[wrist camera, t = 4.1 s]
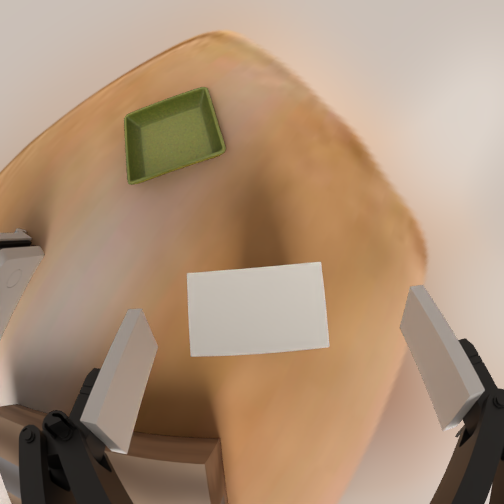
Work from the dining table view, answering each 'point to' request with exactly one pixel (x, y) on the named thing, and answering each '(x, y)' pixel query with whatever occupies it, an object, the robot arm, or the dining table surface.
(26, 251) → the grey curved slotted block
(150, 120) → the olive green shallow tray
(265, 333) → the rail end
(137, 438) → the post foot
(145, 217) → the dining table surface
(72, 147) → the dining table surface
